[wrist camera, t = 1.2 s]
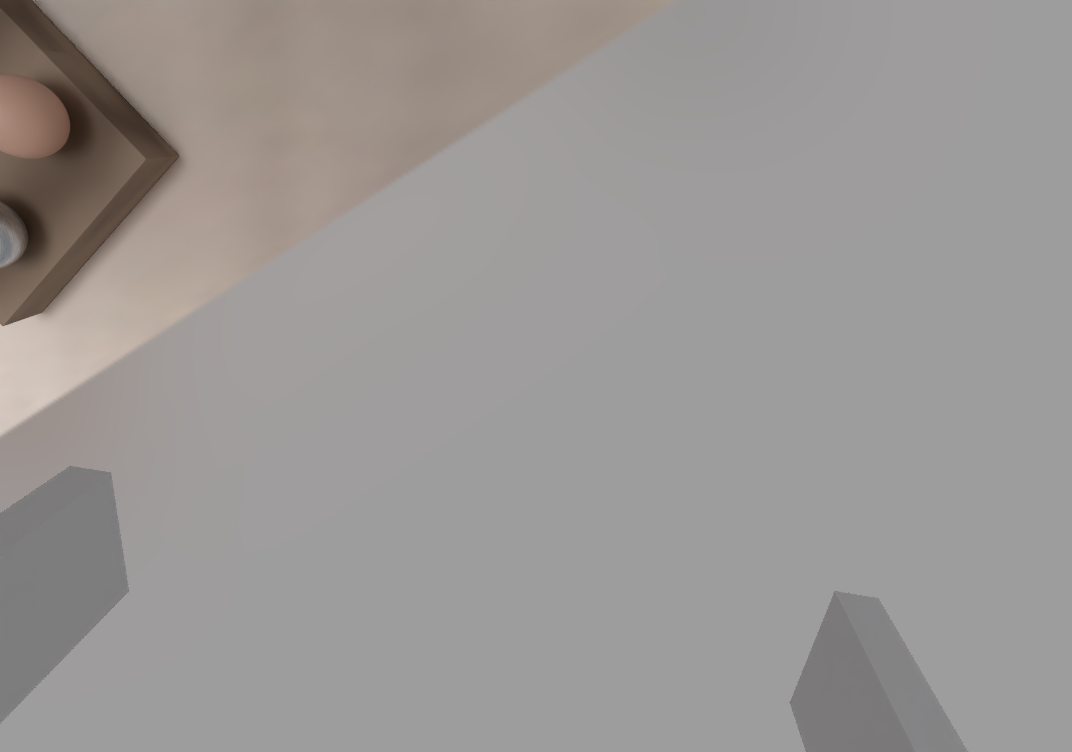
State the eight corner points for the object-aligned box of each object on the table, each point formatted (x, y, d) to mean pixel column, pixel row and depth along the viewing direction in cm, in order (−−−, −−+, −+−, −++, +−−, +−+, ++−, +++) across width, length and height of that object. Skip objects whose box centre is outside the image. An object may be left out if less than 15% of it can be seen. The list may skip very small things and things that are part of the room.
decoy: (2, 112, 29) (-69, 111, 26) (41, 59, 28) (-28, 51, 25) (62, 172, 30) (0, 178, 27) (102, 122, 29) (42, 123, 26)
